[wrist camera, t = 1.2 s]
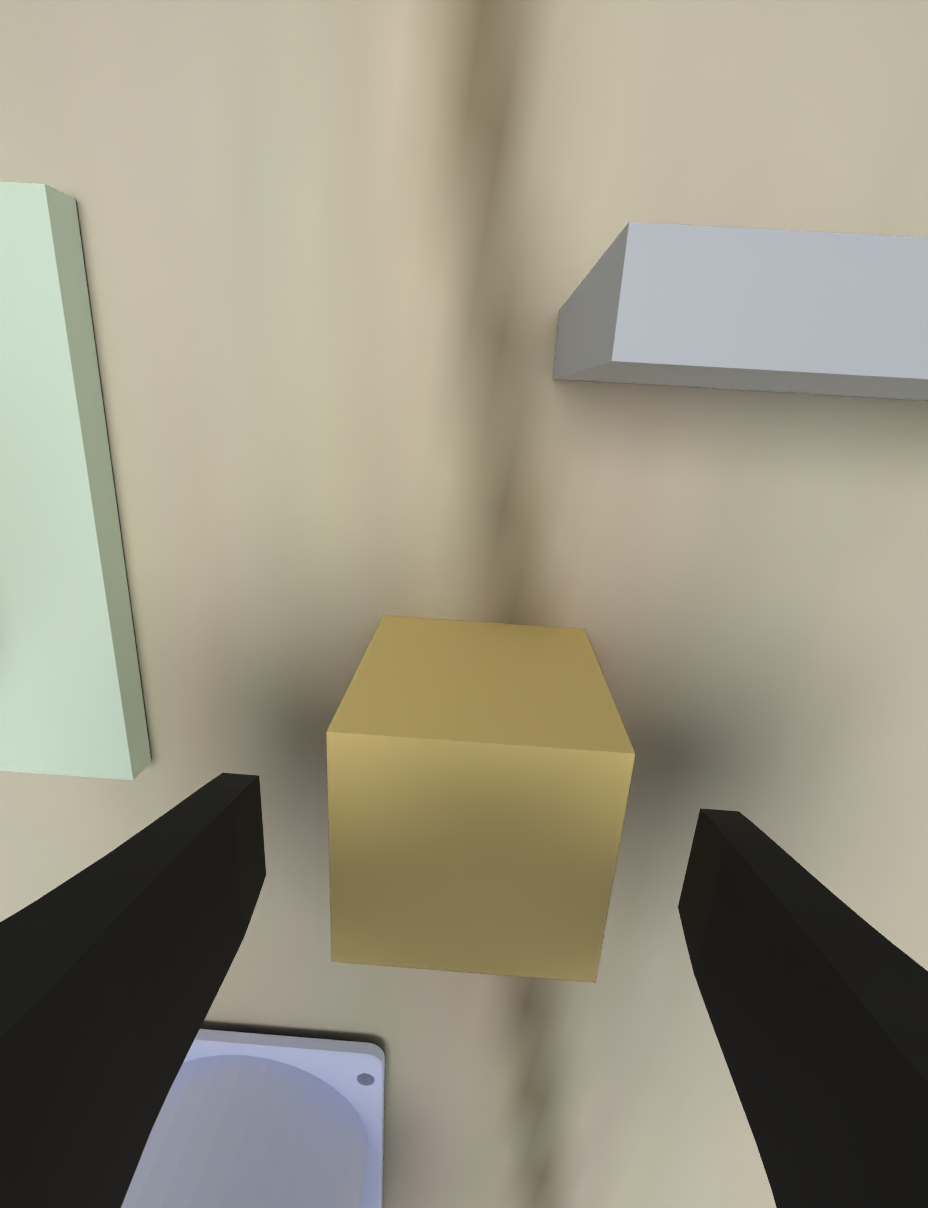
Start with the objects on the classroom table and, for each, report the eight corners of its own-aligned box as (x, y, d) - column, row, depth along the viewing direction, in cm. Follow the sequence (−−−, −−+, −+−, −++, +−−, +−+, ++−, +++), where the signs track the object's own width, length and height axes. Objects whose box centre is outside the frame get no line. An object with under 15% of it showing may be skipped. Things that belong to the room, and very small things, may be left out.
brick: (561, 796, 15) (595, 982, 10) (381, 783, 15) (331, 961, 10) (584, 627, 13) (635, 753, 9) (383, 614, 13) (326, 731, 9)
